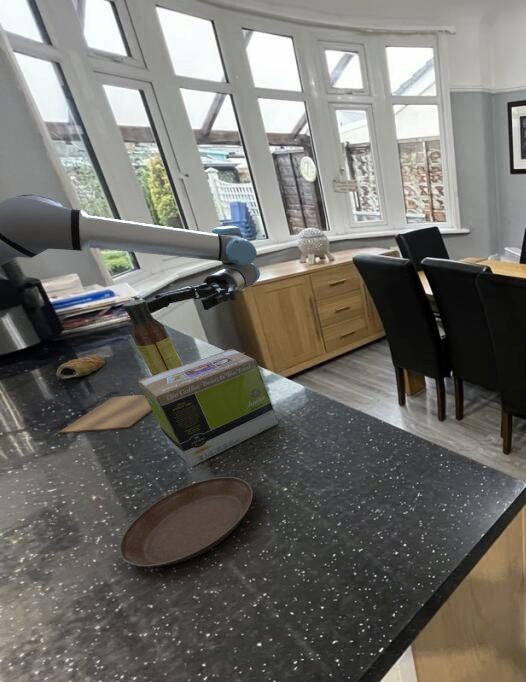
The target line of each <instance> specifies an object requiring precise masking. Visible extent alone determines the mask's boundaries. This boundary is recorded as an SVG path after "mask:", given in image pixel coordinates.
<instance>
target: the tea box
mask: <svg viewBox="0 0 526 682" xmlns="http://www.w3.org/2000/svg"><path fill="white" fill-rule="evenodd" d="M137 383H138V386H139V387H140V389H141V391H142V394H143V395H145V397H146V399H147V401H148V403H149V405H150V407H151V409H152V411H151V412H153V415H154V417H155V419H156V421H157V424H158V425H159V428H160V429H161V432H162V433H163V434H164V437H165V438H166V441H167V442H168V444H169V446H170V447H171V448H172V449H173V450H174V451H175V452H176V453H177V454H178V455H179V456H180V457H181V459H183V460H184V461H185V462H186V464H187V465H189V467H191V468H193V467H194V466H196V465H198V464H200V463H202V462H204V461H207V460H209V459H211V458H212V457H214V456H217V455H218V454H220V453H222V452H225V451H226V450H229V449H230V448H232V447H235V446H237V445H238V444H240V443H243V442H244V441H246V440H249V439H250V438H253V437H254V436H257V435H259V434H260V433H262V432H265V431H266V430H268V429H270V428H272V427H275V426H277V425H278V424H279V421H278V419H277V415H276V412H275V410H274V408H273V407H274V406H273V404H272V402H271V399H270V396H269V393H268V390H267V387H266V385H265V382H264V379H263V376H262V374H261V371H260V367H259V366H258V363H257V360H256V359H255V358H252V357H250V356H248V355H246V354H244V353H242V352H240V351H237V350H235V349H234V348H231V349H227V350H224V351H221V352H219V353H215V354H213V355H210V356H206V357H203V358H201V359H198V360H195V361H192V362H189V363H186V364H183V365H182V366H179V367H177V368H174V369H171V370H168V371H165V372H162V373H159V374H156V375H154V376H152V375H150V376H148V377H145V378H142V379H139V380H137Z"/></svg>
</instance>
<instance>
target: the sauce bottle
mask: <svg viewBox="0 0 526 682" xmlns="http://www.w3.org/2000/svg"><path fill="white" fill-rule="evenodd" d="M122 308H123V310H124V311H125V312H126V313H127V315H128V317H129V319H130V322H131V327H130V331H129V332H130V336H131V338H132V339H133V341H134V343H135V346H136V348H137V350H138V352H139V353H140V356H141V357H142V359H143V361H144V363H145V364H146V367H147V369H148V371H149V372H150V374H151V375H150V376H154V375H156V374H159V373H162V372H165V371H168V370H171V369H174V368H177V367H179V366H182V365H184V364H183V361H182V360H181V357H180V356H179V354H178V351H177V350H176V347H175V345H174V343H173V341H172V339H171V337H170V335H169V334H168V332H167V330H166V328H165V326H164V324H162V323H160V322H159V321H158V320H157V319H155V318H154V317H153V315H152V313H150V312H149V309H148V304H147V300H145V299H138V300H131V301H129V302H125V303H123V304H122Z"/></svg>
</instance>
